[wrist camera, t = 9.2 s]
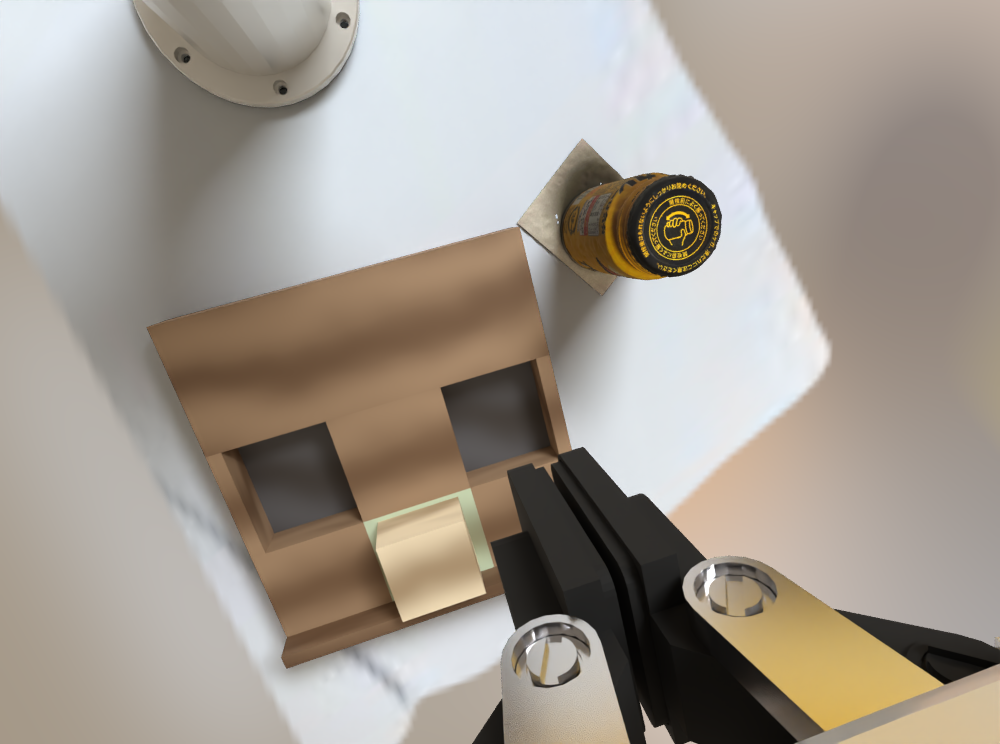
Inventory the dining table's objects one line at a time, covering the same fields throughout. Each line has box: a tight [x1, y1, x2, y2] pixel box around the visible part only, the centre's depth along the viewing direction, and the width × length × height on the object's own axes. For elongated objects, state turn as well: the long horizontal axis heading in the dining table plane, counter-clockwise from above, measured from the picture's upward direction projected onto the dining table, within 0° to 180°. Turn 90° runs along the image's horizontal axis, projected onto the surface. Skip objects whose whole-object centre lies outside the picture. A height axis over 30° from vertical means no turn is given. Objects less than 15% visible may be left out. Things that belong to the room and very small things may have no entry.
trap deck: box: [147, 227, 572, 669], centre depth 38 cm, size 25×24×5 cm
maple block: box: [376, 497, 486, 622], centre depth 38 cm, size 6×6×4 cm
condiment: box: [518, 139, 722, 296], centre depth 33 cm, size 7×8×12 cm
